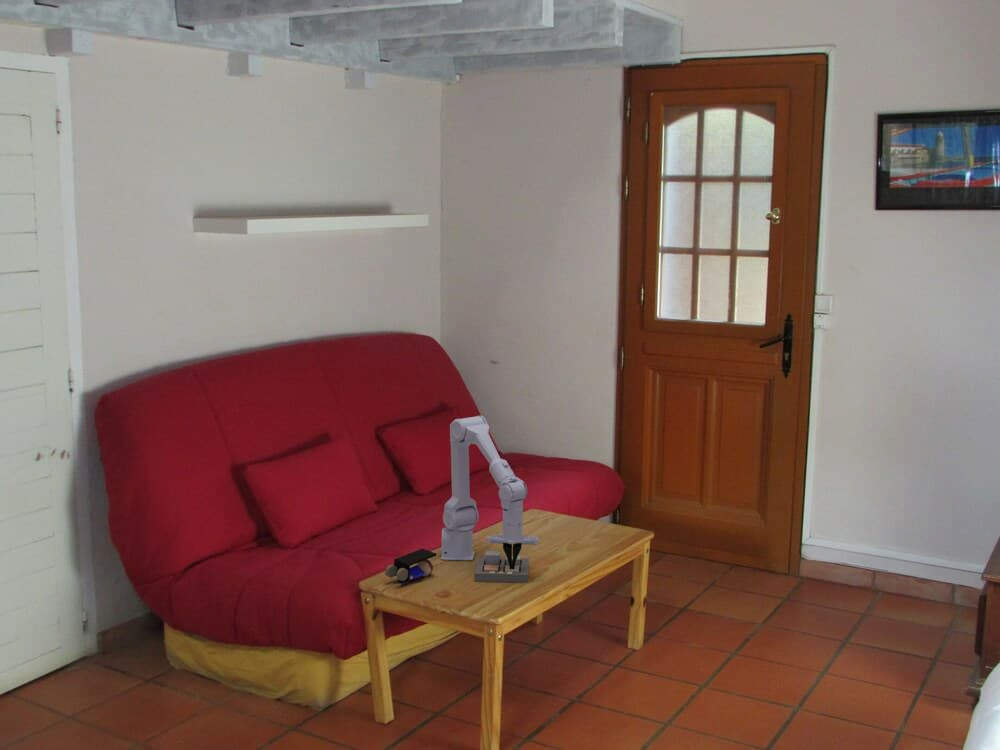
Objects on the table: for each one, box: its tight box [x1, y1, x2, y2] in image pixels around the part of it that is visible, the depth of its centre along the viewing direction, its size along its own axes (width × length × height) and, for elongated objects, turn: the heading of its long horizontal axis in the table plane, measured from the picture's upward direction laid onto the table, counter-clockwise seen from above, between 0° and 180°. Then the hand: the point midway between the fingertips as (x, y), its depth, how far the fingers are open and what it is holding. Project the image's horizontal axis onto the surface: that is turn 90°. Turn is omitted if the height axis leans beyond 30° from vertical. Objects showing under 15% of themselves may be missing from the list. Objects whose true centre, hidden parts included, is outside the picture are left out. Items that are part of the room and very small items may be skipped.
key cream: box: [505, 566, 519, 572], centre depth 331 cm, size 4×4×2 cm
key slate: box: [484, 550, 501, 565], centre depth 336 cm, size 4×4×3 cm
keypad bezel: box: [473, 556, 530, 584], centre depth 334 cm, size 15×15×3 cm
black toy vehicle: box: [384, 548, 437, 586], centre depth 327 cm, size 7×8×15 cm
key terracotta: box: [484, 565, 499, 572], centre depth 331 cm, size 4×4×2 cm
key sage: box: [505, 554, 521, 566], centre depth 336 cm, size 4×4×3 cm
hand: (512, 568), depth 330 cm, fingers closed, pressing on key cream
